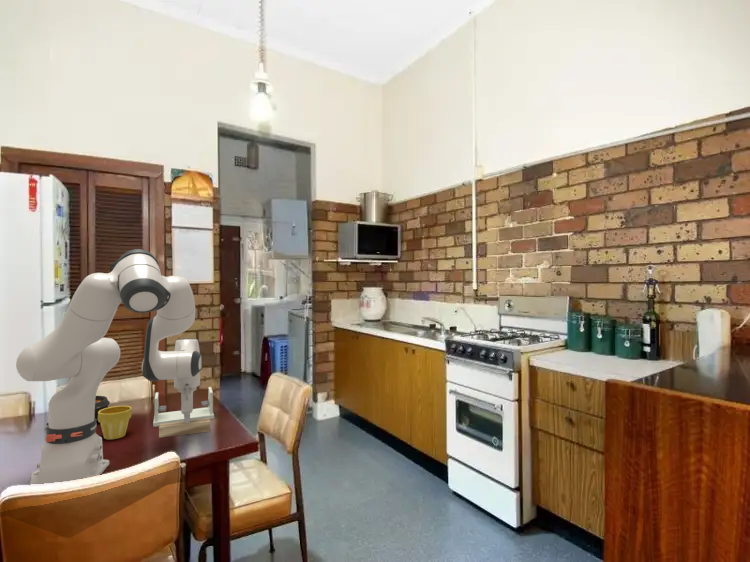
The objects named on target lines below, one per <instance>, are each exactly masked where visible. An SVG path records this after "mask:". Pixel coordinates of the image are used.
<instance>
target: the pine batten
mask: <svg viewBox="0 0 750 562" xmlns="http://www.w3.org/2000/svg"><path fill="white" fill-rule="evenodd" d="M210 431H211V419H210V418H207V419H199V420H190V422H189V423H184V421H182V422H174V423H166V424H160V426H158V438H159V439H161V438H167V437H169V438H170V437H177V436H184V435H185V436H186V435H191V434H200V433H206V432H210Z"/></svg>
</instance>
